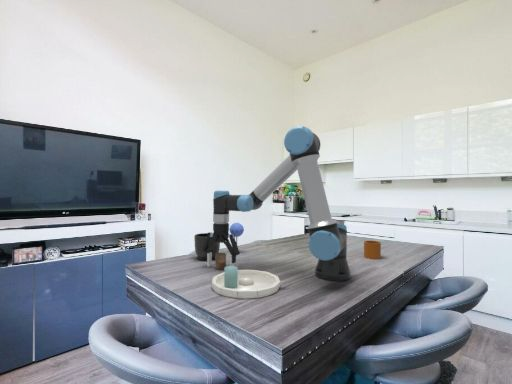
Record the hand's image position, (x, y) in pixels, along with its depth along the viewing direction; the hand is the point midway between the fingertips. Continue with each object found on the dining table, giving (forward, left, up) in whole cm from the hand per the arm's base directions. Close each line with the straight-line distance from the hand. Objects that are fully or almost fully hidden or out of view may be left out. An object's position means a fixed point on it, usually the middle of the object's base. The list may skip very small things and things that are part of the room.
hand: (220, 268), depth 131 cm
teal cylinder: (-19, +22, +1) cm, 29 cm away
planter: (+17, -13, 0) cm, 21 cm away
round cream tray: (-22, +16, 0) cm, 27 cm away
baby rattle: (+10, -33, 0) cm, 34 cm away
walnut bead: (0, 0, 0) cm, 0 cm away
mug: (-65, -60, 0) cm, 88 cm away
